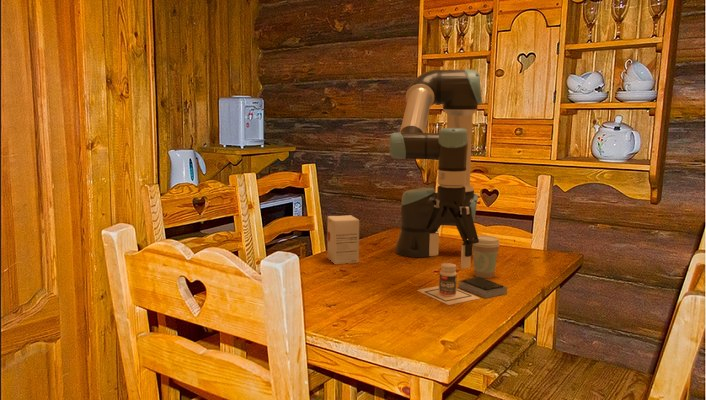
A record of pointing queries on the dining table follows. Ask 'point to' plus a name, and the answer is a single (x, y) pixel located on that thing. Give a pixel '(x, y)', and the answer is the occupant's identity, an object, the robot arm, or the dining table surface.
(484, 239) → the coffee cup
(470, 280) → the ink pad
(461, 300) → the print card
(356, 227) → the supplement box
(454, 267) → the pill bottle
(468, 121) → the robot arm
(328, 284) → the dining table surface
